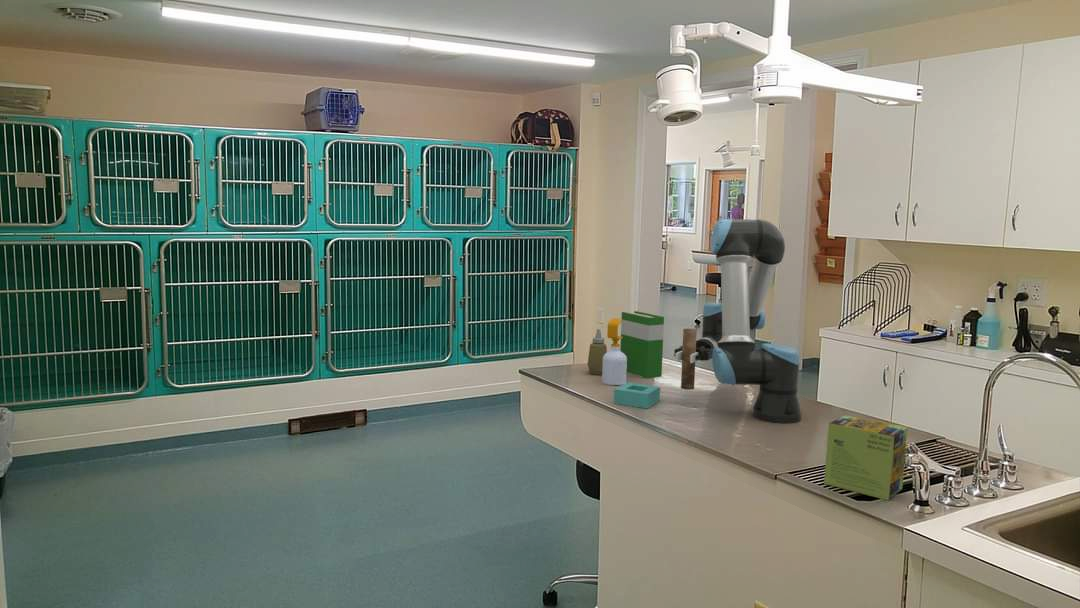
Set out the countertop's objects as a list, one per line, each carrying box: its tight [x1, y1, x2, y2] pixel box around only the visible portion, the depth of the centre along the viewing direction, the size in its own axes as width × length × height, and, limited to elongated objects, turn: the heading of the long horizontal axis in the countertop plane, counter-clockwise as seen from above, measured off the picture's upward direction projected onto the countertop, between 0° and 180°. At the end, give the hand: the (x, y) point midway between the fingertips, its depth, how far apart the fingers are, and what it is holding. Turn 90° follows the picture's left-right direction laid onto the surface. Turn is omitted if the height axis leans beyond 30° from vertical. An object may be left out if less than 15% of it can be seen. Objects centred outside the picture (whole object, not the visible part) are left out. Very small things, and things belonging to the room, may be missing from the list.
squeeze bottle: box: [587, 328, 608, 376], centre depth 297 cm, size 8×8×18 cm
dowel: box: [680, 328, 698, 391], centre depth 250 cm, size 4×4×20 cm
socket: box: [613, 382, 661, 409], centre depth 255 cm, size 12×12×5 cm
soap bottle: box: [601, 317, 628, 386], centre depth 281 cm, size 9×9×25 cm
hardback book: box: [620, 310, 665, 379], centre depth 300 cm, size 18×7×24 cm, turn 31°
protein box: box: [823, 415, 908, 501], centre depth 180 cm, size 10×15×16 cm
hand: (683, 358), depth 245 cm, fingers closed on dowel, 4 cm apart
